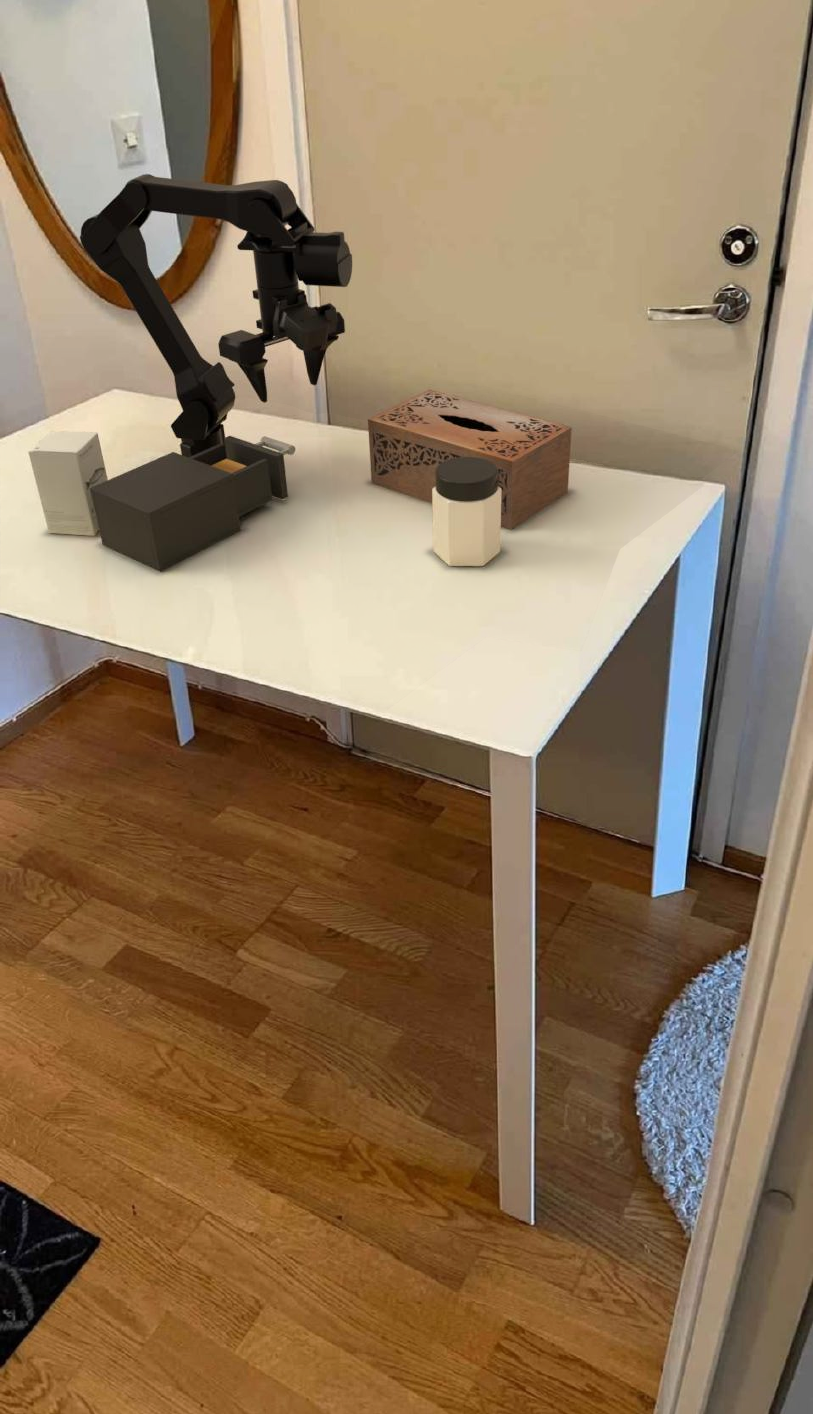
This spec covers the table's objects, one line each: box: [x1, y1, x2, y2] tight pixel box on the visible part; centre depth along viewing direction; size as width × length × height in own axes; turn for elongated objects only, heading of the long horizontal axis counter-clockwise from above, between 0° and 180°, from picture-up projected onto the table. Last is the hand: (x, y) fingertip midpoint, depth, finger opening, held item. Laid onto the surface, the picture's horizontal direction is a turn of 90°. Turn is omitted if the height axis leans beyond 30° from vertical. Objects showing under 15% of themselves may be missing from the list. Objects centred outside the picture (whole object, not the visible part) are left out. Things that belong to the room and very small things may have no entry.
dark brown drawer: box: [189, 435, 296, 518], centre depth 155 cm, size 18×11×7 cm, turn 140°
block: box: [212, 459, 247, 473], centre depth 154 cm, size 4×4×4 cm
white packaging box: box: [27, 430, 109, 537], centre depth 151 cm, size 7×7×13 cm
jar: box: [431, 457, 502, 567], centre depth 140 cm, size 9×8×12 cm
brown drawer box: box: [90, 451, 242, 572], centre depth 148 cm, size 15×13×9 cm
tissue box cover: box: [367, 389, 573, 530], centre depth 157 cm, size 26×14×10 cm, turn 50°
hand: (289, 393), depth 157 cm, fingers open, 9 cm apart
